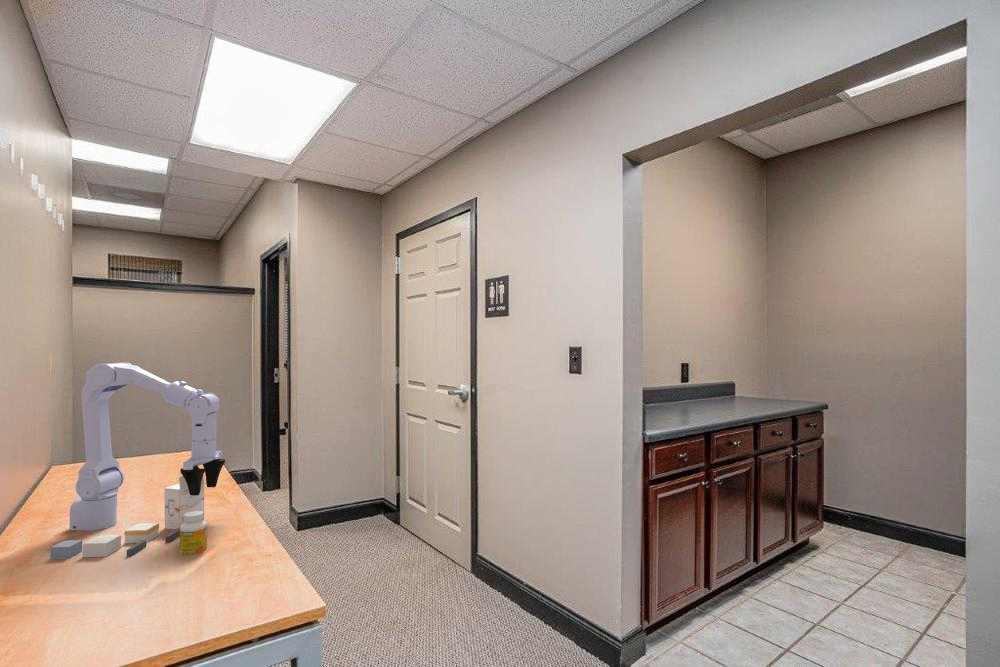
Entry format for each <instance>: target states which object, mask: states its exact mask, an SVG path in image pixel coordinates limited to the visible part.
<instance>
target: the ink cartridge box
mask: <svg viewBox="0 0 1000 667" xmlns="http://www.w3.org/2000/svg"><path fill="white" fill-rule="evenodd" d="M204 479H205V477H204V476H203V477H202V482H201V490H200V494H199V495H197V496H192V495H190V493H189V489H188V486H187V483H186V481H185V479H184V477H183V475H182V476H179V478H178V482H179V483H177V484H174V485H170V486H167V487H164V529H170V530H176V529H178V528H180V527H181V525H182V524H183V523H185V522H184V514H185V513H188V512H191V511H203V512H204V513H205V480H204ZM204 519H205V517H204V518H203V519H202V520H204Z"/></svg>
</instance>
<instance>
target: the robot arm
mask: <svg viewBox="0 0 1000 667" xmlns="http://www.w3.org/2000/svg"><path fill="white" fill-rule="evenodd" d="M130 384H134V385H137V386H140V387H143V388H145V389H148V390H151V391H153V392H156V393H158V394H161V395H162V396H163V398H164V401H165V402H168V403H170V404H172V405H173V406H174V405H175V406H177V407H179V408H181V409H184V410H186V411H187V412H188V414H189V415H190V417H191V456H190V457H189V458H188V459H186V460H185V461H183V462H182V464H183V465H182V466H183V467H182V468H180V472H179V473H180V474H181V475H182V476H183V477H184V479H185V481H186V483H187V486H188V489H189V493H190V495H192V496H197V495H199V494H200V490H201V482H202V477H203V478H204V474H205V483H206V488H216V487H217V484H218V481H219V478H220V477H219V476H220V475H221V474H220V473H221V471H222V469H223V466H224V465H225V463H226V459H224V458H223V450H217V428H218V427H217V419H218V418H217V416H218V414H217V413H218V411H219V410H220V408H221V405H222V403H221V399H220V397H219V396H218V395H216V394H215V393H214V392H206V393H204V390H203V389H199V388H198V389H196V388H194V387H192V386H189V385H187V384H188V382H186V381H184V380H181V381H178V380H177V381H173V382H169V381H166V380H165V379H163V378H161V377H159V376H156V375H154V374H153V373H151V372H149V371H147V370H145V369H143V368H141V367H140V366H138V365H133V364H131V363H130V362H116V363H114V362H113V363H103V362H102V363H101V362H100V363H97V364H95V365H93V366H92V367H91V368H90V369H88V370H87V371H86V372H85V383H84V386H83V387H82V388H83V389H82V391H81V395H80V397H81V409H82V410H81V411H82V422H83V435H84V437H83V438H84V449H85V450H84V451H85V461H84V462H85V463H83V465H82V466H81V467H80V469H79V470H78V474H77V475H78V478H77V481H76V483H75V492H76V494H77V496H78V497H76V499H74V501H72V504H71V505H70V508H69V531H98V530H104V529H107V528H111V527H114V526H116V525H117V524H118V493H119V488H120V487H121V486H122V485H123V483H124V481H125V475H124V473H123V471H122V470H121V466H120V462H119V461H118V460H117V459H115V458H114V456H113V450H112V438H111V437H112V436H111V434H112V433H111V423H110V410H109V407H110V406H109V399H110V397H112V395H113V394H115V393H116V392H117V391H118V390H120V389H123V388H125V387H127V386H129V385H130ZM201 465H202V467H203V468H200V467H199V466H201Z"/></svg>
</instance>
